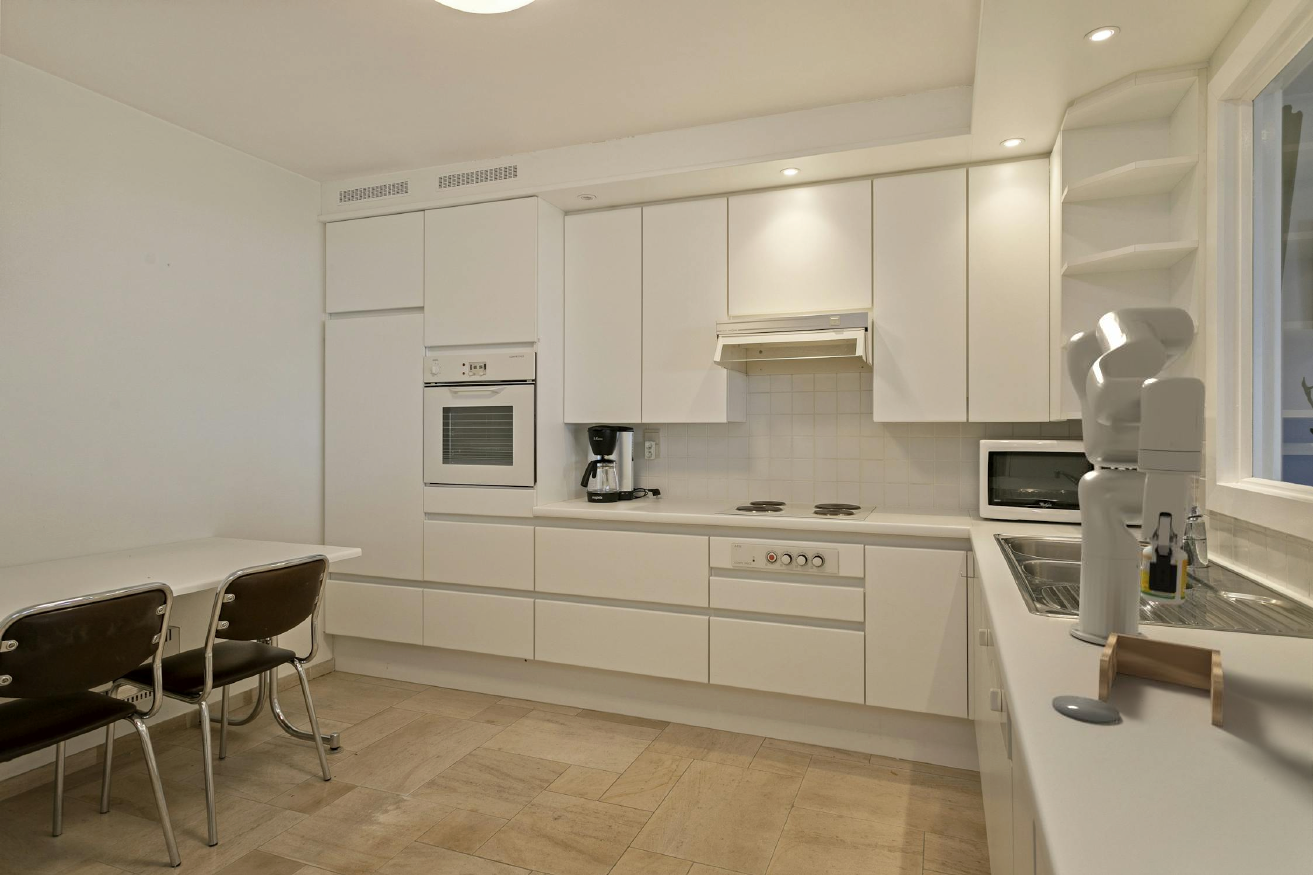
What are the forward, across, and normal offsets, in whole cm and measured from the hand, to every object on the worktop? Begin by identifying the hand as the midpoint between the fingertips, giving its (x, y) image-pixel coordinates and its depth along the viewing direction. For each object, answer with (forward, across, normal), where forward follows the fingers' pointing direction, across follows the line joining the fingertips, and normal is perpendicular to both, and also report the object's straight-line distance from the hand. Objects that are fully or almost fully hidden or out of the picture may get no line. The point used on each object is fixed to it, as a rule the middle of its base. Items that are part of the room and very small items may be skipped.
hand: (1163, 586), depth 104 cm
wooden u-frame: (+17, -1, 0) cm, 17 cm away
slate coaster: (+16, +13, -8) cm, 22 cm away
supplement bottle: (+2, 0, 0) cm, 2 cm away
